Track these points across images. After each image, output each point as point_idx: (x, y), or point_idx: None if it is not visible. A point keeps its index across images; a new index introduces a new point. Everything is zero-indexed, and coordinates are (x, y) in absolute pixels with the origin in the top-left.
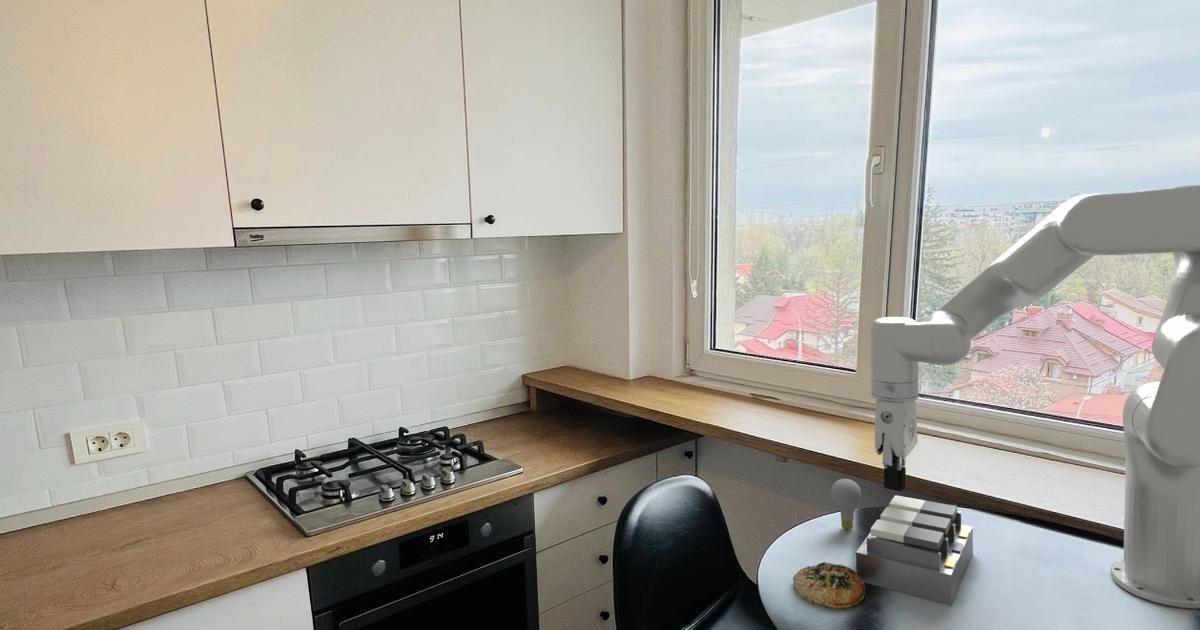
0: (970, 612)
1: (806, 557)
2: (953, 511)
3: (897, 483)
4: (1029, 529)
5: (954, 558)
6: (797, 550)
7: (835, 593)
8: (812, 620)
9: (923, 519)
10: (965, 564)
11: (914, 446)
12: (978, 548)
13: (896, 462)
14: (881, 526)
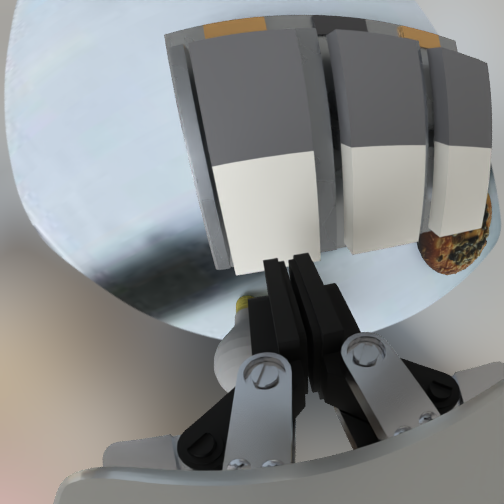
0: (413, 20)
1: (383, 294)
2: (255, 35)
3: (336, 290)
4: (18, 55)
5: (406, 30)
6: (367, 313)
7: (491, 207)
8: (499, 209)
9: (395, 114)
10: None
11: (215, 498)
12: (144, 57)
13: (442, 381)
14: (469, 211)
